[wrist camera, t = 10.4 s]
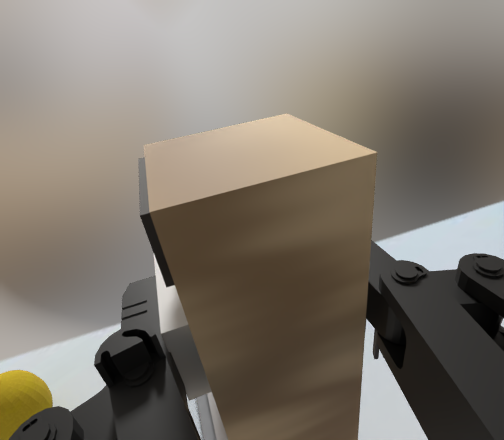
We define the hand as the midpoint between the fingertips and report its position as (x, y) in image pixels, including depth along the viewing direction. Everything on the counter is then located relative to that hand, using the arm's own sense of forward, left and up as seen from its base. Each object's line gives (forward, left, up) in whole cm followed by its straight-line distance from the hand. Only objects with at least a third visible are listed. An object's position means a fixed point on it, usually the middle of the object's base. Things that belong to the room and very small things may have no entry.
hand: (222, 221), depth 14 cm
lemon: (+21, -12, -24) cm, 34 cm away
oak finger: (0, +5, -7) cm, 9 cm away
